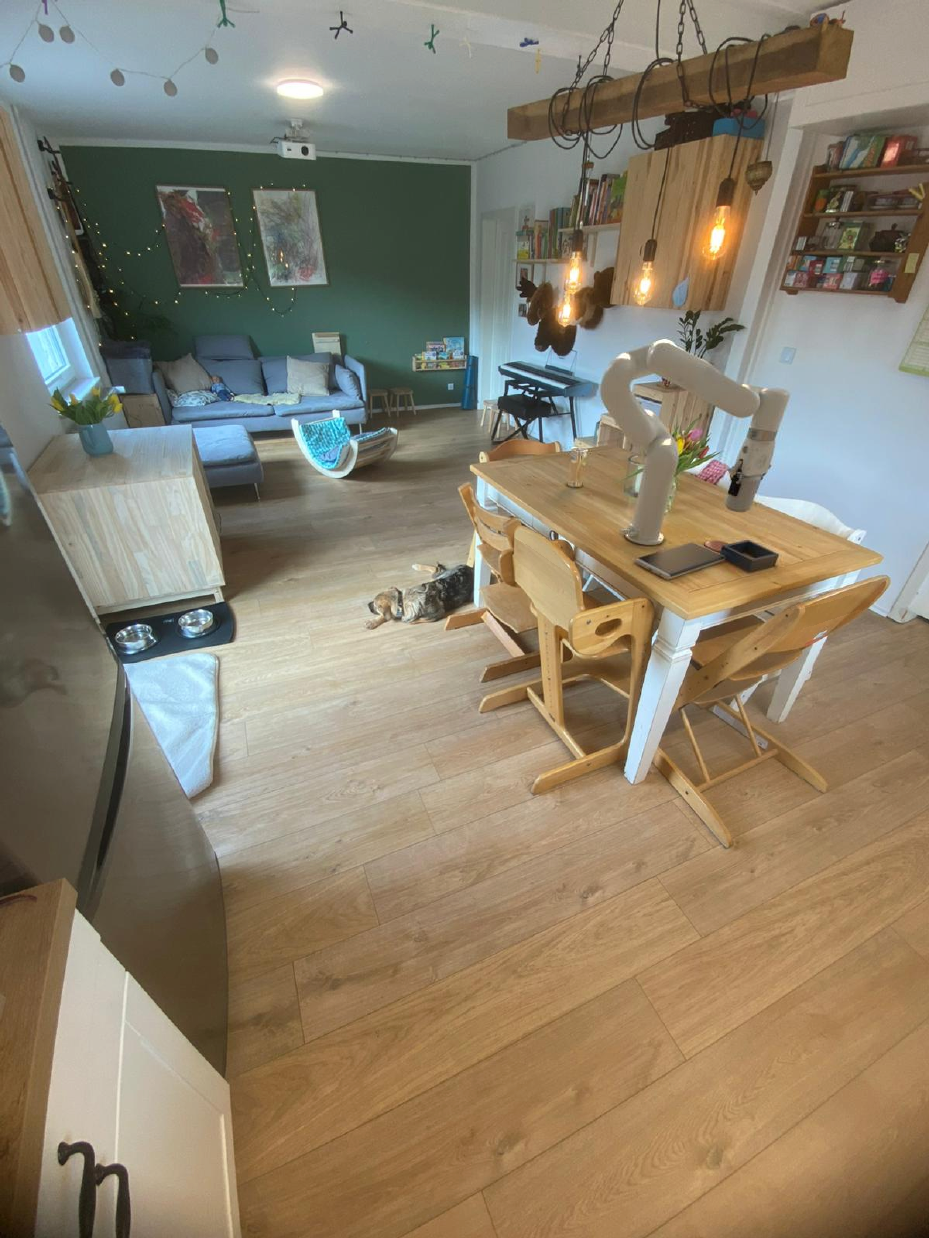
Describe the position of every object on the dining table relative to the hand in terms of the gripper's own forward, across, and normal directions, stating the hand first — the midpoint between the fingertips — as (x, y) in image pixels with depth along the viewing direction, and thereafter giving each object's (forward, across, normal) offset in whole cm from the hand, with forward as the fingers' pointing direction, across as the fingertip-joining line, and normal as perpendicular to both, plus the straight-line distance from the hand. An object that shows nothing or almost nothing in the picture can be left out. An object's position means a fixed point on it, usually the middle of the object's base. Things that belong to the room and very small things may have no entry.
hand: (742, 493), depth 163 cm
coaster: (+19, 0, +2) cm, 19 cm away
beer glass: (+20, -10, +71) cm, 75 cm away
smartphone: (+20, -20, -2) cm, 28 cm away
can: (+5, 0, 0) cm, 5 cm away
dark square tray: (+19, 0, -9) cm, 21 cm away
